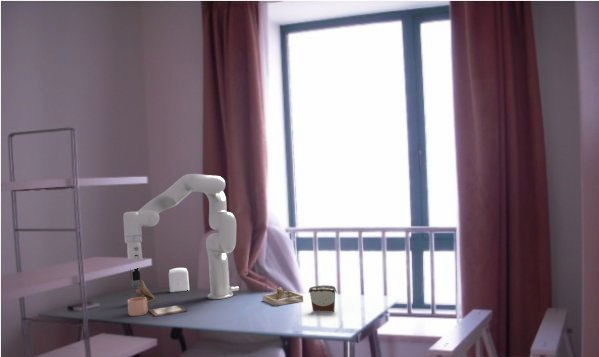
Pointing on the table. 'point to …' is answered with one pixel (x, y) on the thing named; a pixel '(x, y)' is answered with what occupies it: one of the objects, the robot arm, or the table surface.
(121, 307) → the table surface
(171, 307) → the picture frame
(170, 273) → the photo printer
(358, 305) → the table surface
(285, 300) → the artifact tray
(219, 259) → the robot arm
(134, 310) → the pen cup
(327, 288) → the food container
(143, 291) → the brown carved statuette
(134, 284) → the marker
